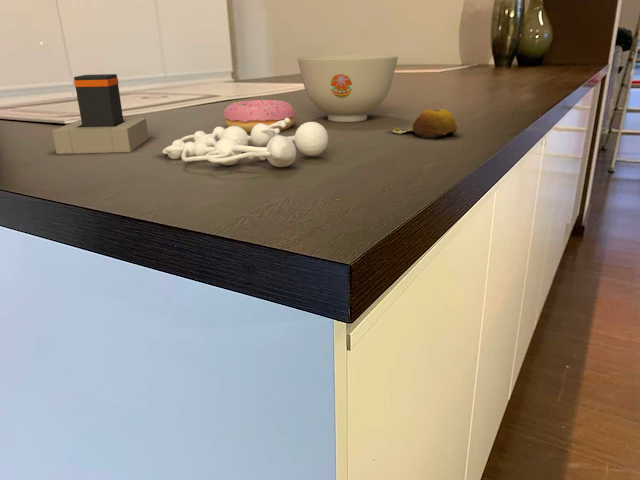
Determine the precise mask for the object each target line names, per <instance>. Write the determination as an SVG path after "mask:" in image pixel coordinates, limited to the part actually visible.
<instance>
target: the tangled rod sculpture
mask: <svg viewBox="0 0 640 480" xmlns="http://www.w3.org/2000/svg"><path fill="white" fill-rule="evenodd" d="M289 122H290V119H289V118H285V120H282V121H279V122H276V123H274V124H271V125H269V126H268V125H266V124H262V123H259V124H257V125H255V126H254V127H253V128H252V131H251V133H250V135H248V133H246V131H245V130H243V129H242V128H240V127H238V126H230V127H226V128H225V127H222V126H216V127H215V128H213V130H212V133H205V131H203V130H198V131H195V133H194V134H189V135H185V136H183V137H182V138H180V139H175V140H173V142H172V143H171V145H168V146H167V147H165V148H164V149H162V151H161V152H162V154H163V155H168V157H169V158H170V159H172V160H179V159H181V160H182V161H183V162H186V163H189V162H199V161H208V162H211V163H213V164H220V165H223V166H233V165H235V164H237V163H238V162H239V160H242V159H246V158H247V159H248V160H254V158H259V160H260V161H265V160H266V159H267V161H268V162H269V163H270V164H271V165H272V166H274V167H276V168H284V167H288V166H290V165H291V164H292V165H293V163H294V162H295V160H296V158H297V157H296V156H297V150H298V151H299V152H300V153H302V154H303V155H305V156H309V157H314V156H315V157H316V156H318V155H320V154H322V153H323V152H324V151H325V150H326V149H327V146H328V143H329V134H328V131H327V130H326V128H325V127H324V126H323V125H322V124H321V123H319V122H316V121H307V122H304V123H302V124H301V125H299V127H298V128H297V129H296V131H295V134H294V135H291V136H284V135H282V134H280V132H281V131H280V130H279V129H278V128H276V129H273V127H277V126H281V127H282V128H285V127H286V124H288V123H289ZM190 139H193V141H187V140H190ZM186 141H187V142H186ZM249 143H252V145H253V146H251V145H249Z"/></svg>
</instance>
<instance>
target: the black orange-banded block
mask: <svg viewBox="0 0 640 480" xmlns="http://www.w3.org/2000/svg"><path fill="white" fill-rule="evenodd" d="M73 83H74V87H75V92H76V99H77V104H78V111H79V115H80V120H81V122H82V127H116V126H118V125H120V124H122V123H124V121H123V119H124V115H123V107H122V101H121V95H120V88H119V77H118V74H117V73H109V74H108V73H104V74H103V73H102V74H101V73H100V74H82V75H77V76H74V77H73Z"/></svg>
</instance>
